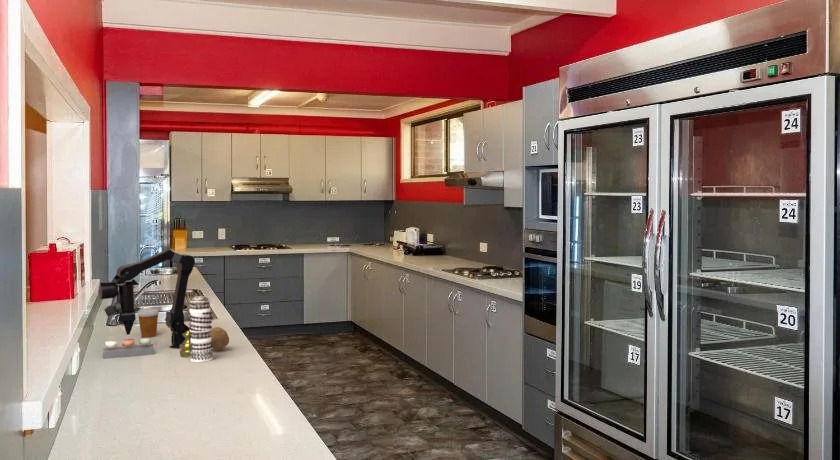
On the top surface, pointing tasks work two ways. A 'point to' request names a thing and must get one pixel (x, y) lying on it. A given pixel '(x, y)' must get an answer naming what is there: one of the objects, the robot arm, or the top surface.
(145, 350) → the button panel
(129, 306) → the robot arm
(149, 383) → the top surface
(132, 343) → the terracotta button
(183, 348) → the gold metal figurine
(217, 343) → the brown rounded lump
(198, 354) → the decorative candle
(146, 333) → the disposable coffee cup
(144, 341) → the sage button
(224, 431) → the top surface
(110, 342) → the cream button
